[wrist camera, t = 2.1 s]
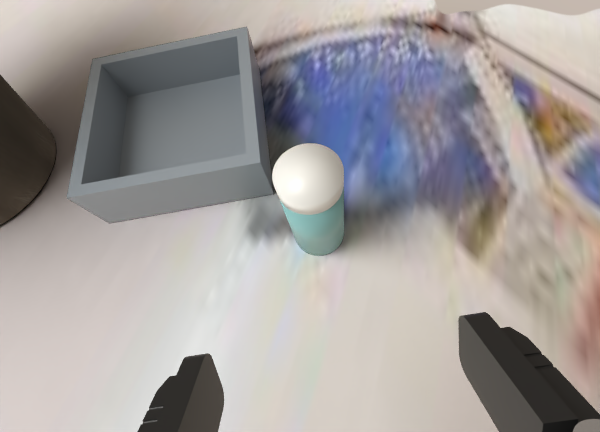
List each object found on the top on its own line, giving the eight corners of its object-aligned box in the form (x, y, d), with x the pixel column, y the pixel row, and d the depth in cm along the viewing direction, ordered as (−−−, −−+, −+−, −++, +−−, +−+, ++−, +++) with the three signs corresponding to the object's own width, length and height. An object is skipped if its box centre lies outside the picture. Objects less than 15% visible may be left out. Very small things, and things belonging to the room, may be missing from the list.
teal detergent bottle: (339, 205, 33) (336, 137, 23) (348, 251, 31) (350, 198, 21) (291, 213, 33) (269, 150, 23) (298, 259, 31) (276, 211, 21)
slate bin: (259, 70, 42) (246, 26, 36) (273, 194, 34) (260, 162, 29) (124, 97, 43) (92, 59, 38) (109, 223, 35) (66, 198, 30)
